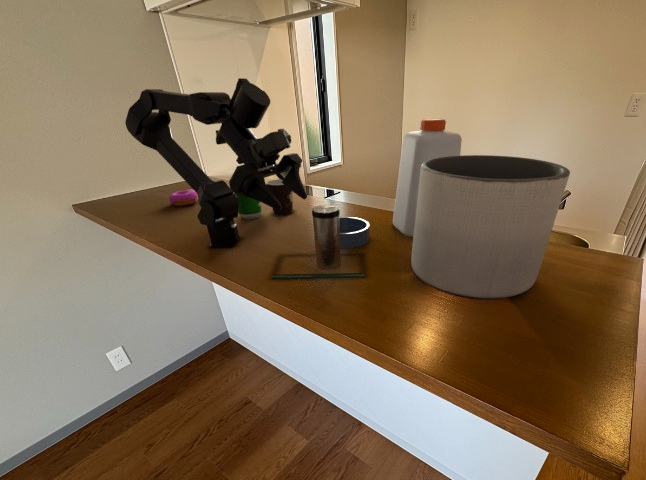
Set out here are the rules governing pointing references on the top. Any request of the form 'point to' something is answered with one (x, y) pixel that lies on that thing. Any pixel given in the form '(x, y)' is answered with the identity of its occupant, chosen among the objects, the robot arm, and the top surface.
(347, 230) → the blue bowl
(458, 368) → the top surface
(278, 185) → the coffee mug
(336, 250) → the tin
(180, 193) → the donut
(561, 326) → the top surface
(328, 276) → the mat
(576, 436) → the top surface
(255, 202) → the soda can
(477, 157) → the planter
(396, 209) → the plastic bottle
